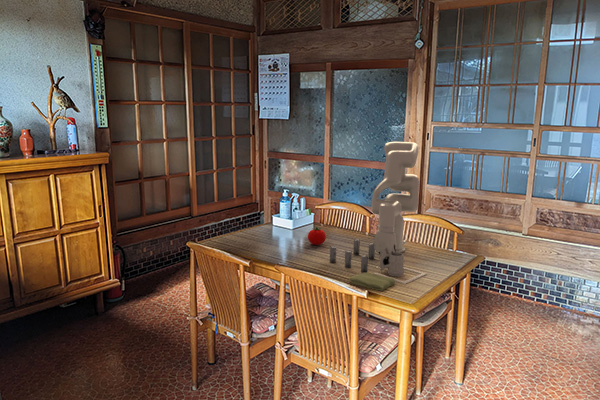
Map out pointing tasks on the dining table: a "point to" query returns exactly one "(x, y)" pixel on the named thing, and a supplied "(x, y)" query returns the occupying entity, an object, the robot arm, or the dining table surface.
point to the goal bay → (408, 279)
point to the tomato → (316, 236)
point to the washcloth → (372, 281)
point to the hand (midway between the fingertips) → (384, 265)
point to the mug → (393, 263)
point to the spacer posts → (356, 252)
